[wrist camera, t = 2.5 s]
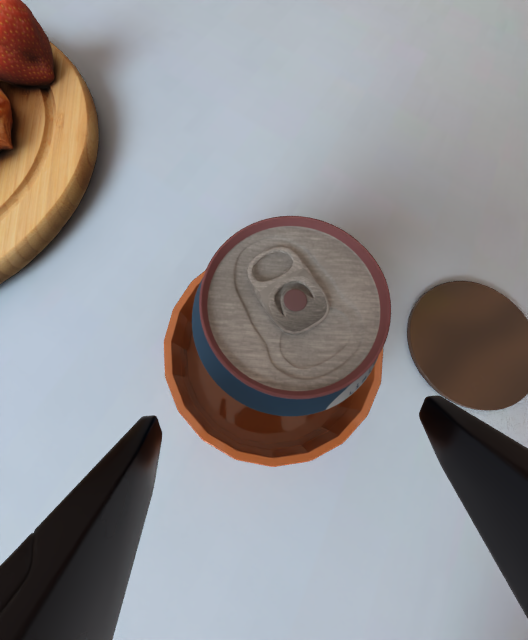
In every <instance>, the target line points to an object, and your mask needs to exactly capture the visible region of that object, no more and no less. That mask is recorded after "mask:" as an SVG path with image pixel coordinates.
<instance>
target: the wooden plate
mask: <svg viewBox="0 0 528 640" xmlns="http://www.w3.org/2000/svg"><path fill="white" fill-rule="evenodd" d="M98 140H99V131H98V118H97V113H96V108H95V105H94V102H93V99H92V96H91V94H90V92H89V89H88V87H87V85H86V83H85V81H84V80H83V78H82V76H81V75H80V73H79V72H78V70H77V69H76V67H75V66H74V65H73V64H72V62H71V61H70V60H69V59H68V58H67V57H66V56H65V55H64V54H63V52H62V51H60V50H59V49H58V48H57V47H56V46H55V45H54V44H52V43H51V42H50V41H49V39H48V37H47V36H46V34H45V32H44V31H43V29H42V27H41V26H40V24H39V23H38V22H37V20H36V19H35V17H34V16H33V14H32V12H31V11H30V9H29V8H28V7H27V6H26V4H24V3H23V2H22V1H21V0H0V284H1V283H3V282H4V281H6V280H7V279H9V278H10V277H11V276H13V275H14V274H16V273H17V272H19V271H20V270H21V269H22V268H24V267H25V266H26V265H27V264H28V263H29V262H31V261H32V260H33V259H34V258H35V257H36V256H37V255H38V254H39V253H40V252H41V251H42V250H43V249H44V248H45V247H46V246H47V245H48V244H49V243H50V242H51V241H52V240H53V239H54V238H55V237H56V235H57V234H58V233H59V232H60V230H61V229H62V228H63V226H64V225H65V224H66V222H67V221H68V220H69V219H70V217H71V216H72V214H73V213H74V211H75V210H76V209H77V207H78V205H79V203H80V201H81V199H82V197H83V195H84V193H85V191H86V189H87V187H88V184H89V182H90V179H91V176H92V173H93V170H94V166H95V162H96V158H97V151H98Z"/></svg>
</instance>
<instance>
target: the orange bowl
mask: <svg viewBox="0 0 528 640" xmlns="http://www.w3.org/2000/svg"><path fill="white" fill-rule="evenodd" d="M205 271H206V270H205ZM205 271H204V272H203V273H202V274H200V275H199V276H198V277H197V278H195V279H194V280H193V281H192V282H191V283H190V285H189V286H188V288H187V289H186V291H185V292H184V294H183V295H182V297H181V298H180V300H179V301H178V303H177V304H176V305H175V307H174V309H173V311H172V315H171V318H170V322H169V325H168V329H167V332H166V335H165V339H164V361H165V376H166V377H165V378H166V381H167V383H168V386H169V388H170V391H171V394H172V396H173V399H174V402H175V404H176V407H177V410H179V413H180V414H181V415H182V416H183V418H184V419H185V420H186V421H187V422H188V424H189V425H190V426H191V427H192V428H193V430H194V431H195V432H196V433H197V434H198V436H199V437H200V438H201V439H203V441H205V442H206V443H208V444H210V445H211V446H213V447H215V448H216V449H218V450H220V451H221V452H223V453H225V454H226V455H228V456H230V457H232V458H233V459H236V460H239V461H245V462H250V463H255V464H260V465H265V466H270V467H276V466H283V465H289V464H295V463H302V462H308V461H310V460H311V461H312V460H314V459H315V458H317V457H319V456H321V455H323V454H324V453H326V452H328V451H330V450H332V449H333V448H335V447H337V446H339V445H341V444H342V443H343V442H345V441H346V440H347V438H348V437H349V436H350V435H351V434H352V433H353V432H354V430H355V429H356V428H357V427H358V426H359V425H360V424H361V422H362V421H363V420H364V419H365V418H366V417H367V415H368V413H369V411H370V408H371V406H372V403H373V401H374V399H375V396H376V394H377V391H378V389H379V386H380V384H381V383H380V382H381V374H382V359H383V348H382V350H381V352H380V354H379V356H378V358H377V361H376V363H375V365H374V367H373V369H372V371H371V373H370V374H369V376H368V377H367V379H366V380H365V381H364V383H363V384H362V385H361V386H360V387H359V388H358V389H357V390H356V391H355V392H354V393H353V394H352V395H351V396H349V397H348V398H347V399H345V400H344V401H342V402H341V403H339V404H337V405H335V406H333V407H331V408H329V409H327V410H324V411H321V412H318V413H315V414H310V415H304V416H277V415H271V414H267V413H263V412H260V411H257V410H254V409H252V408H249V407H247V406H245V405H243V404H242V403H240V402H238V401H237V400H235V399H234V398H232V397H231V396H229V395H228V394H227V393H226V392H225V391H223V390H222V389H221V388H220V387H219V386H218V385H217V384H216V382H215V381H214V380H213V379H212V378H211V376H210V375H209V373H208V372H207V370H206V369H205V367H204V365H203V364H202V361H201V359H200V357H199V355H198V352H197V349H196V346H195V343H194V338H193V331H192V310H193V303H194V299H195V295H196V292H197V289H198V287H199V284H200V282H201V280H202V278H203V276H204V274H205Z"/></svg>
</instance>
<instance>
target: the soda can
mask: <svg viewBox="0 0 528 640" xmlns="http://www.w3.org/2000/svg"><path fill="white" fill-rule="evenodd" d="M390 318H391V302H390V294H389V289H388V285H387V282H386V279H385V277H384V275H383V272H382V271H381V269H380V267H379V265H378V264H377V262H376V261H375V259H374V258H373V257H372V255H371V254H370V253H369V252H368V251H367V249H366V248H365V247H364V246H363V245H362V244H361V243H359V242H358V241H357V240H356V239H355V238H354V237H352V236H351V235H349V234H348V233H347V232H345V231H343V230H342V229H340V228H338V227H336V226H334V225H332V224H329V223H327V222H324V221H321V220H317V219H313V218H308V217H301V216H280V217H273V218H269V219H265V220H261V221H258V222H256V223H253V224H251V225H249V226H247V227H245V228H243V229H241V230H240V231H238V232H237V233H235V234H234V235H233V236H231V237H230V238H229V239H228V240H227V241H226V242H225V243H224V244H223V245H222V246H221V247H220V248H219V249H218V251H217V252H216V253H215V255H214V256H213V258H212V259H211V261H210V263H209V265H208V267H207V269H206V271H205V274H204V276H203V278H202V280H201V282H200V284H199V287H198V289H197V292H196V295H195V299H194V303H193V310H192V331H193V338H194V343H195V346H196V349H197V352H198V355H199V357H200V359H201V361H202V364H203V365H204V367H205V369H206V370H207V372H208V373H209V375H210V376H211V378H212V379H213V380H214V381H215V382H216V384H217V385H218V386H219V387H220V388H221V389H222V390H223V391H225V392H226V393H227V394H228V395H229V396H231V397H232V398H234V399H235V400H237V401H238V402H240V403H242V404H243V405H245V406H247V407H249V408H252V409H254V410H257V411H260V412H263V413H267V414H271V415H277V416H304V415H310V414H315V413H318V412H321V411H324V410H327V409H329V408H331V407H333V406H335V405H337V404H339V403H341V402H342V401H344V400H345V399H347V398H348V397H349V396H351V395H352V394H353V393H354V392H355V391H356V390H357V389H358V388H359V387H360V386H361V385H362V384H363V383H364V381H365V380H366V379H367V377H368V376H369V374H370V373H371V371H372V369H373V367H374V365H375V363H376V361H377V358H378V356H379V354H380V352H381V350H382V348H383V346H384V344H385V341H386V338H387V335H388V331H389V326H390Z"/></svg>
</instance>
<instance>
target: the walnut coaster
mask: <svg viewBox="0 0 528 640" xmlns="http://www.w3.org/2000/svg"><path fill="white" fill-rule="evenodd" d="M407 338H408V345H409V350H410V353H411V356H412V359H413V361H414V363H415V365H416V367H417V369H418V370H419V372H420V374H421V375H422V376H423V378H424V379H425V380H426V381H427V382H428V384H429V385H430V386H431V387H432V388H433V389H435V390H436V391H437V392H438V393H439V394H441V395H442V396H444V397H445V398H447V399H448V400H450V401H452V402H454V403H456V404H458V405H461V406H464V407H467V408H471V409H476V410H499V409H504V408H507V407H509V406H512V405H514V404H515V403H517V402H519V401H520V400H521V399H523V398H524V397H525V396H526V395H527V394H528V320H527V319H526V317H525V316H524V315H523V313H522V312H521V311H520V310H519V309H518V307H517V306H516V305H515V304H514V303H513V302H511V301H510V300H509V299H508V298H507V297H505V296H504V295H502V294H501V293H499V292H498V291H496V290H494V289H492V288H490V287H488V286H485V285H482V284H479V283H474V282H468V281H453V282H447V283H444V284H440V285H438V286H436V287H434V288H432V289H431V290H429V291H428V292H426V293H425V294H424V295H423V296H422V297H421V298H420V299H419V300H418V301H417V302H416V304H415V306H414V307H413V309H412V312H411V314H410V317H409V321H408V328H407Z"/></svg>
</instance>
